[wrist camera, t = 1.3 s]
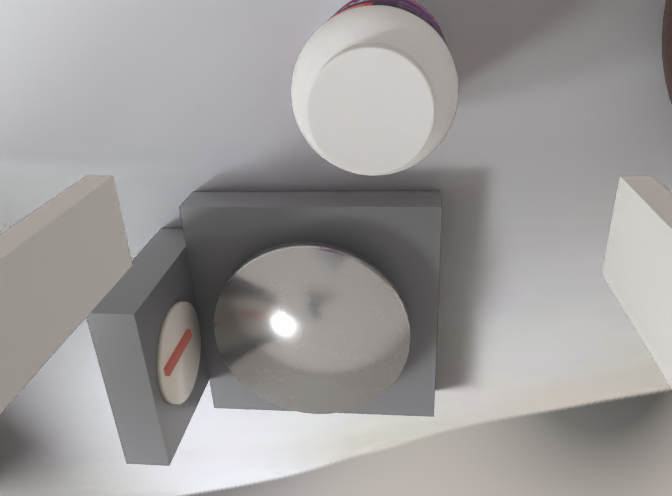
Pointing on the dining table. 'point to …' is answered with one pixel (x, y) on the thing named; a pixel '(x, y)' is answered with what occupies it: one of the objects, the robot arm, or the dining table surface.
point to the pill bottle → (375, 87)
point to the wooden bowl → (667, 46)
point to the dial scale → (209, 281)
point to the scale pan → (312, 327)
